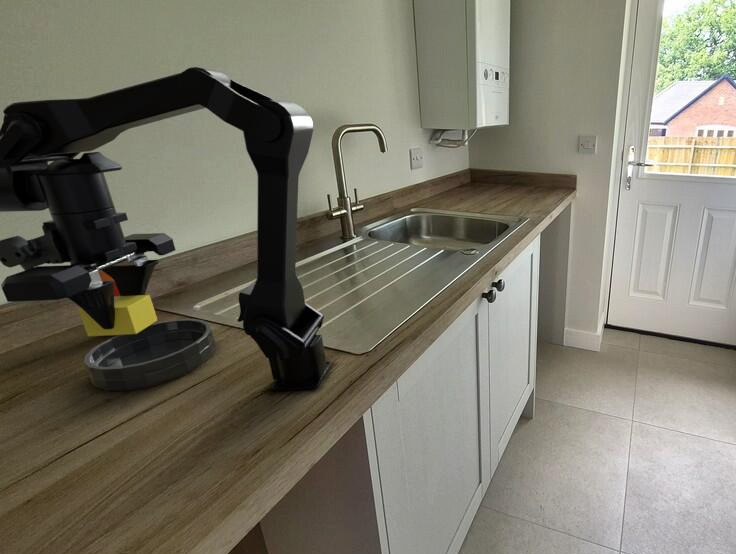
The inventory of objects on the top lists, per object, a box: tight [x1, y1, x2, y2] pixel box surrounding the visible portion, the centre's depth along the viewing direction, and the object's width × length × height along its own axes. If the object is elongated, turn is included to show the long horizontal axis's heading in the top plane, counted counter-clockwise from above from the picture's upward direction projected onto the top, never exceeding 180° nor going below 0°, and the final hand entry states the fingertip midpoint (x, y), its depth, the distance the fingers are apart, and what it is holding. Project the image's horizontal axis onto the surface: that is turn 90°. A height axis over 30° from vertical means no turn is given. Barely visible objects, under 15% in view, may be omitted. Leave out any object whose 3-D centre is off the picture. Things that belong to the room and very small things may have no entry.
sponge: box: [77, 294, 158, 337], centre depth 56 cm, size 6×4×4 cm, turn 95°
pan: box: [83, 318, 217, 392], centre depth 65 cm, size 15×15×4 cm
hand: (122, 321), depth 56 cm, fingers closed on sponge, 4 cm apart
